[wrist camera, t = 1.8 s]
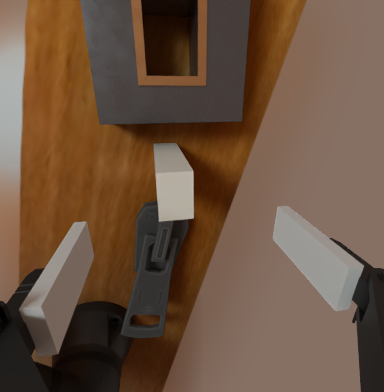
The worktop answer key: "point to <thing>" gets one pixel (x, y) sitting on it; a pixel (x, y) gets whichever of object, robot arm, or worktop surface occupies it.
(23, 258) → the worktop surface
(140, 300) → the zipper slider
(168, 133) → the worktop surface
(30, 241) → the worktop surface
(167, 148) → the white rectangular bar
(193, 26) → the block
